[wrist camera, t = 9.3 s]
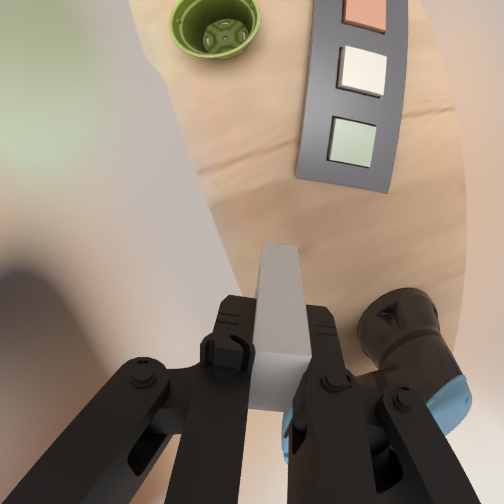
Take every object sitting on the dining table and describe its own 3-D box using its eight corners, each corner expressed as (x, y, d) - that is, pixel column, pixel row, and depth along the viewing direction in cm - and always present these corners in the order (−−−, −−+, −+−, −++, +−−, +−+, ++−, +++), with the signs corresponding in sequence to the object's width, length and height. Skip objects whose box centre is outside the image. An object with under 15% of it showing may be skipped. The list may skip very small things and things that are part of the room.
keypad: (380, 188, 36) (387, 194, 34) (294, 173, 37) (296, 178, 34) (399, 0, 23) (407, -7, 21) (315, -22, 24) (318, -31, 21)
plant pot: (258, 4, 27) (253, -24, 19) (268, 65, 31) (266, 49, 23) (187, 17, 28) (165, -5, 20) (195, 77, 32) (174, 66, 24)
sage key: (363, 163, 34) (369, 167, 31) (326, 156, 34) (330, 159, 32) (369, 126, 32) (376, 127, 29) (331, 118, 32) (336, 118, 29)
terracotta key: (378, 35, 26) (385, 30, 23) (340, 25, 26) (345, 19, 24) (379, 5, 24) (386, -1, 21) (342, -4, 24) (347, -12, 21)
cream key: (375, 96, 29) (383, 95, 27) (336, 87, 29) (341, 84, 27) (378, 60, 27) (386, 56, 24) (340, 50, 27) (345, 45, 24)
